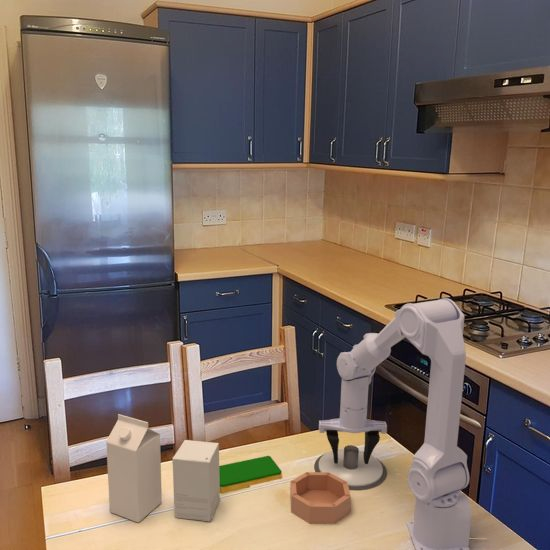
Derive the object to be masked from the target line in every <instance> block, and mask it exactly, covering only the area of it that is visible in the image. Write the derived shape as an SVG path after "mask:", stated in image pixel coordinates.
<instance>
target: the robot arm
mask: <svg viewBox="0 0 550 550" xmlns="http://www.w3.org/2000/svg"><path fill="white" fill-rule="evenodd" d="M464 322H465V315H464V313H463V311H462V310H461V309H460V308H459V306H458V305H457V303H456V302H455V301H454V300H452V299H450V298H447V297H443V298H440V299H437V300H429V301H424V302H423V301H421V302H417V303H406V304H403V305H402V306H401V307H400V309H397V310H396V311H395V313H394V317H393V318H392V319H391V320H390V321H389V322H388V323H387V324H386V325H385V326H384V328H383V329H382V330H381V331H379V333H377V332H376V333H375V332H369V333H365V334H364V335H363V339H362V340H361V341H360V342H359V343H358V344H354V345H353V346H352V349H351V351H347V352H346V351H344V352H343V351H342V352H339V355H338V357H337V359H336V369H337V372H338V374H339V376H340V378H341V386H340V389H341V390H340V408H339V418H332V419H325V420H324V419H323V420H318V432H319V434H324V433H326V438H327V440H328V443H329V445H330V448H331V451H333V457H334V463H335V464H338V449H339V444H340V438H339V432H341V433H342V432H344V433H349V434H360V433H364V448H363V452H364V462H365V464H368V462H369V459H370V456H371V455H372V453H373V451H374V450H375V448H376V446H377V445H378V443H379V442H380V440H381V437H380V434H382V435H386V434H387V430H388V425H387V422H386V421H381V420H373V419H368V418H367V416H368V402H369V400H368V398H369V385H371V383H372V378H373V375H374V374H375V372H376V368H377V366H378V365H380V364H381V363H382V362H383V361H385V360H387V358H389V357H390V355H391V352H392V349H391V348H392V347H393V346H394V345H396V344H398V343H400V342H401V341H402V340H404V339H405V338H406V339H407V340H408V341H409V342H410V343H411V344H412V345H413V346H414V347H415V348H416V349H417V350H418V351H419V352H420V353H421V355H425V356H427V357H428V358H429V359H430V373H429V383H428V384H429V385H428V396H427V397H428V398H427V406H426V417H425V418H426V419H425V429H424V440H423V444H422V445H421V447H420V448H419V449H418V450H417V451H416V452H415V454H414V455H413V456H412V464H411V466H410V467H409V468H408V471H407V482H408V483H407V484H408V487H409V489H410V492H412V494H413V496H414V497H415V501H414V511H413V512H414V513H413V520H412V521H406V522H405V523H406V526H407V529H408V532H409V534H410V538H411V540H412V543H413V546H414V550H470V547H469V546H470V537H471V536H470V535H471V527H472V508H471V503H470V500H469V498H468V496H467V494H465V493H462V490H463V489H466V488H467V486H468V485H469V484H470V472H469V468H468V463H467V462H468V461H467V460H468V454H466V452H464V450H462V449H461V448H460V447H459V446H458V439H459V428H460V421H461V420H460V417H461V409H462V408H461V407H462V399H463V398H462V397H463V387H464V378H465V370H466V369H465V368H466V358H467V355H466V354H467V352H466V347H465V346H466V345H465V341H464V336H463V335H464V326H465V323H464Z"/></svg>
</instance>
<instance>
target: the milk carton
mask: <svg viewBox="0 0 550 550" xmlns="http://www.w3.org/2000/svg"><path fill="white" fill-rule="evenodd" d="M105 441H106V442H105V443H106V444H105V445H106V462H107V463H106V464H107V481H108V482H107V483H108V484H107V485H108V499H109V500H108V501H109V512H110V513H112V514H114V515H117V516H120V517H122V518H124V519H128V520H130V521H133V522H136V523H140V522H141V521H142V520H144V519H145V518H146V516H148V515H149V514H150V513H151V512H153V511H154V510H155V509H156V508H157V507H158V506H159V505H161V503H162V502H163V501H162V495H163V493H162V467H161V466H162V464H161V463H162V462H161V461H162V460H161V434H160V433H159V432H157V431H155V430H153V429H151V428H150V427H149V422H148V421H144V420H140V419H137V418H134V417H130V416H127V415H123V414H120V413H118V414H117V421H116V423H115V425H114V426H113V427H112V430H111V431H110V434H109V436H108V437H107V439H106V440H105Z"/></svg>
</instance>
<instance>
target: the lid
mask: <svg viewBox="0 0 550 550" xmlns="http://www.w3.org/2000/svg"><path fill="white" fill-rule="evenodd" d="M325 453H326V454H325ZM325 453H323V454H324V455H323V454H322V455H323V456H322V455H321V456H322V457H321V458H320V460H319V471H320V472H329V473H331V474H333V475H335V476H337V477H339V478H341V479H343V480H344V481H346V482H347V483H348V487H366V486H370V485H372V484H374V483H376V482H378V481H379V480H380V479H381V477H382V473H383V468H382V465H381V463H380V462H379V461H380V460H379V459H378V458H377V457H376V456H373V455H372V454H371V456H370V459H369V462H368V464H365V462H364V451H361V450H360V449H359V447H357V446H355V445H349V444H348V445H346V446H344V447H343V448H338V464H335V463H334V457H333V451H332V450H330V451H328V452H325ZM376 458H377V459H378V460H379V461H378V460H377V459H376Z"/></svg>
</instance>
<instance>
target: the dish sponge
mask: <svg viewBox="0 0 550 550" xmlns="http://www.w3.org/2000/svg"><path fill="white" fill-rule="evenodd" d="M282 472H283V471H282V469H281V468H280V467H279V466H278V464H277V463H276V462H275V461H274V459H273V458H272V457H271V456H270V455H264V456H261V457H260V456H259V457H256V458H251V459H246V460H241V461H235V462H231V463H228V464H226V463H225V464H222V465H219V480H220V494H225V493H230V492H235V491H239V490H243V489H249V488H251V486H254V485H258V484H262V483H263V484H264V483H266V482H271V481H276V480H281V479H282V478H283V477H282Z"/></svg>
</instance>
